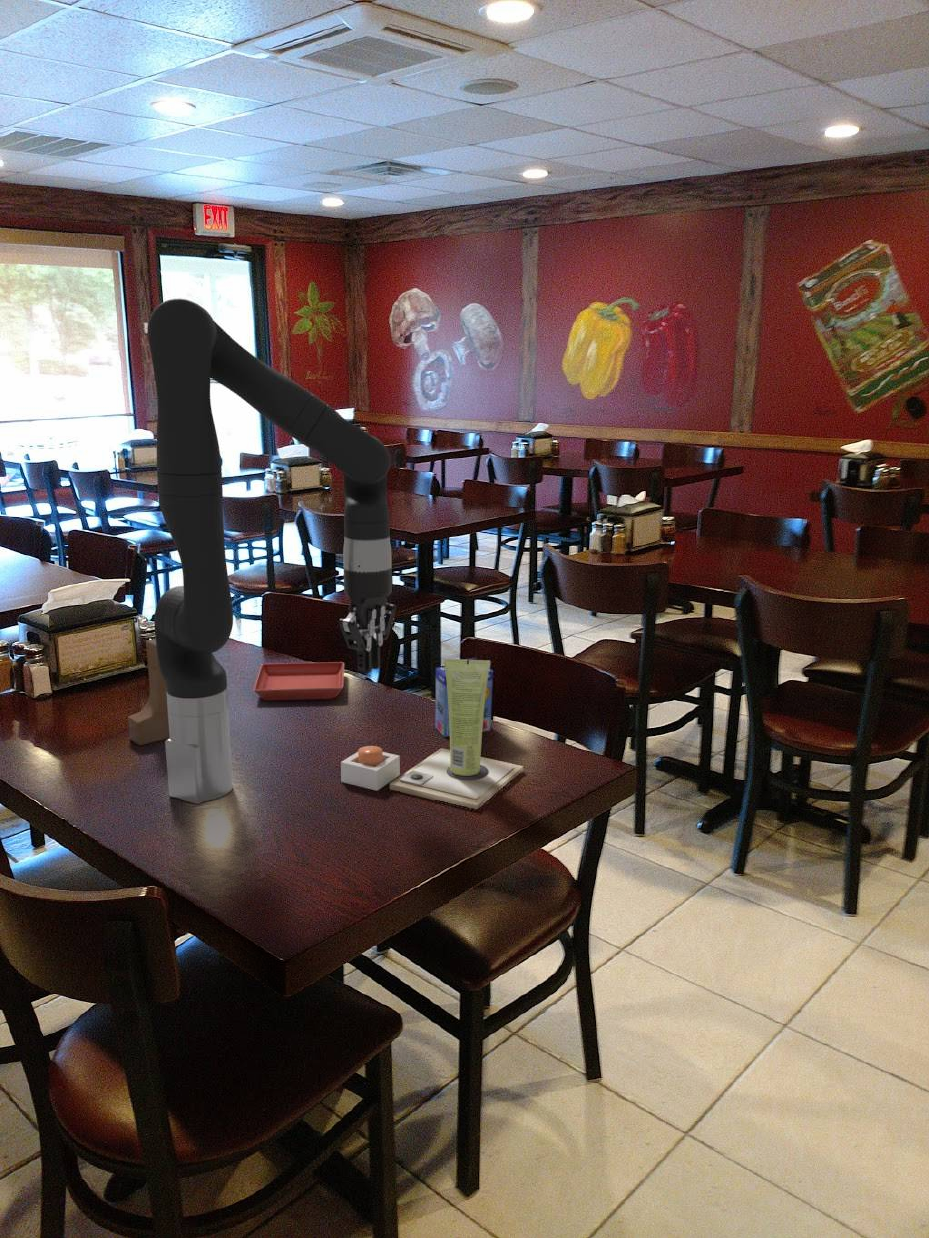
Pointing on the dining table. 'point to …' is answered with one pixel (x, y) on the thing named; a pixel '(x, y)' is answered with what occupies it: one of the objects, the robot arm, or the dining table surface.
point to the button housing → (370, 771)
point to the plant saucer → (300, 681)
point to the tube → (466, 712)
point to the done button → (370, 755)
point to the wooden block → (151, 706)
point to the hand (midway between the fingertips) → (369, 669)
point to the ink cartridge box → (443, 706)
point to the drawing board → (455, 780)
